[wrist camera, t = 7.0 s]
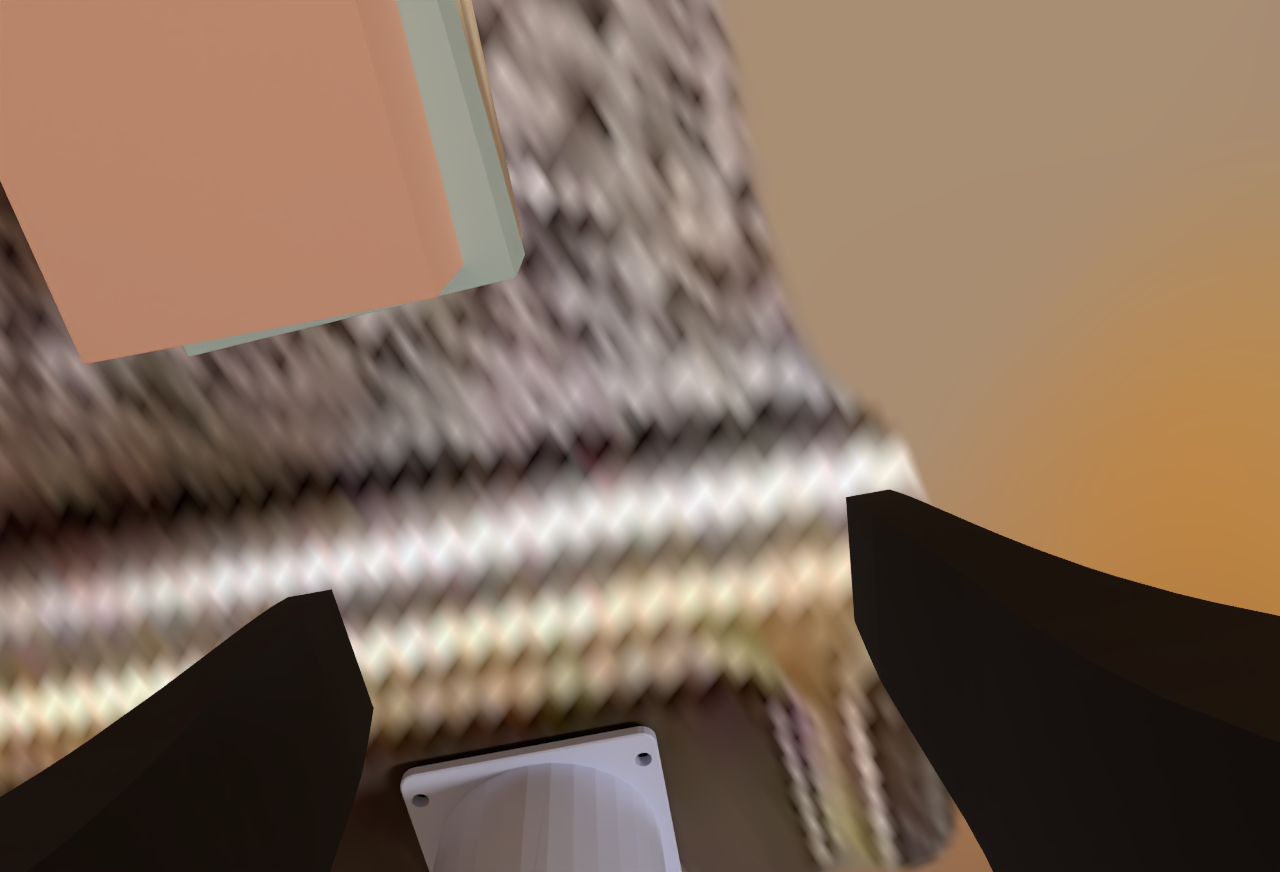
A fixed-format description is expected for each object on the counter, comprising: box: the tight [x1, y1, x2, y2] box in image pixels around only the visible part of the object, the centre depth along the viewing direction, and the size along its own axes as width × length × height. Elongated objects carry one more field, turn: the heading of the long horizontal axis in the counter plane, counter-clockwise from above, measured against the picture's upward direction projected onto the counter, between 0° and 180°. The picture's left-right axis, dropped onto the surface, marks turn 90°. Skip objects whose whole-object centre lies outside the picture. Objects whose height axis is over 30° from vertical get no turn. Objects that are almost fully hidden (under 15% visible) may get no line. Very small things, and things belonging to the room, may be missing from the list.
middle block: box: [183, 0, 525, 357], centre depth 14 cm, size 6×6×3 cm
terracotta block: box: [0, 0, 464, 364], centre depth 11 cm, size 5×5×3 cm
